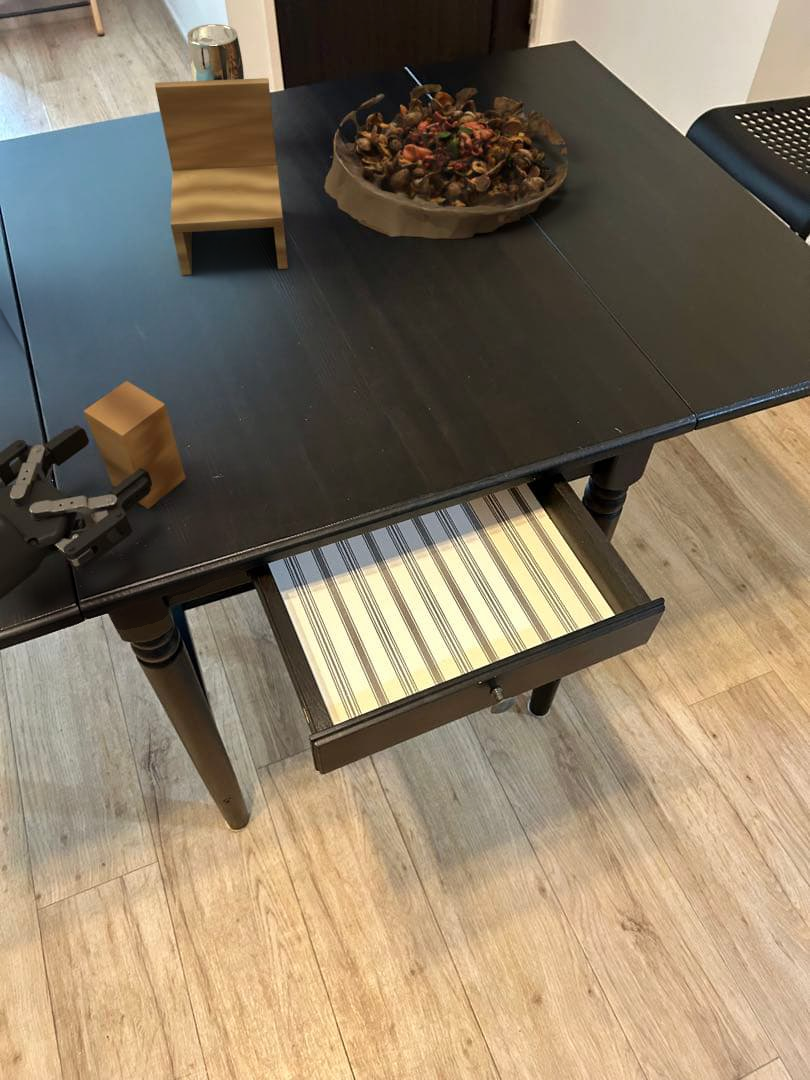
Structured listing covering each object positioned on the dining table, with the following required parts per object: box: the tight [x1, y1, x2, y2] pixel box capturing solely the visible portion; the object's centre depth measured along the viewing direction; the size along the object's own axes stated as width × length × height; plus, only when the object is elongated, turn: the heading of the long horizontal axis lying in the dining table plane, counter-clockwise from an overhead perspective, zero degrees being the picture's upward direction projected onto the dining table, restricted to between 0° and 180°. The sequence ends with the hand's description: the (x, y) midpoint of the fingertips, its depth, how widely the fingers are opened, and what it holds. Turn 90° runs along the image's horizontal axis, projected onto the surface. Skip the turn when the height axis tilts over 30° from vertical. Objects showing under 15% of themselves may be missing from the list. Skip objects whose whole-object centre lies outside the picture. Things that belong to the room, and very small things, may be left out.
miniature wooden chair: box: [154, 77, 289, 276], centre depth 99 cm, size 13×13×17 cm
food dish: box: [323, 84, 569, 240], centre depth 115 cm, size 35×33×8 cm
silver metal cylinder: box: [186, 23, 245, 81], centre depth 114 cm, size 7×7×15 cm
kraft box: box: [83, 380, 187, 510], centre depth 77 cm, size 5×5×10 cm
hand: (115, 454), depth 75 cm, fingers open, 8 cm apart
